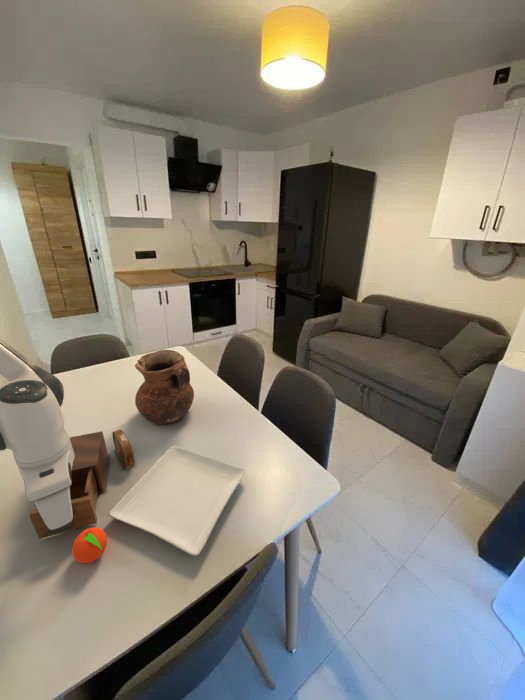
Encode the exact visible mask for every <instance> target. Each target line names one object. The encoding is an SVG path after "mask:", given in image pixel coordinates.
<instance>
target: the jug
mask: <svg viewBox="0 0 525 700" xmlns="http://www.w3.org/2000/svg"><path fill="white" fill-rule="evenodd" d="M134 368H135V369H136V370H137V371H138V372H139V373H140V374H141V375H142V376H143V379H144V381H143V382H142V384H141V385H140V386H139V388H138V389H137V391H136V394H135V399H134V403H135V404H134V405H135V407H136V409H137V411H138V413H139V414H140V415H141V416H142V418H144V419H145V420H146V421H148V422H150V423H153V424H159V425H166V424H172V423H175V422H177V421H179V420H181V418H182V417H183V416H185V415H186V414H187V412H188V411H189V410H190V409H191V407H192V405H193V402H194V399H195V391H194V388H193V386H192V384H191V376H190V375H191V373H190V370H189V368H188V365H187V363H186V360H185V356H184V355H182V354H181V353H179V352H178V351H176V350H173V349H160V350H157V351H155V352H154V351H153V352H149V353H146V354H143V355H142V356H141V357H140V358H139V359H137V362H136V364H135V365H134Z"/></svg>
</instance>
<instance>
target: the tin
mask: <svg viewBox="0 0 525 700" xmlns="http://www.w3.org/2000/svg"><path fill="white" fill-rule="evenodd" d="M111 435H112V441H113V446H114V450H115V452H116V454H117V456H118V458H119V460H120V462H121V463H122V466H123V467H124V468H125V469H128V468H131V467H132V466H135V464H136V463H135V453H134V450H133V447H132V444H131V442H130V440H129V438H128V437H127V435H126V434H125V432H124V431H123V430H122V429H117V430H114V431H113V430H112V434H111Z"/></svg>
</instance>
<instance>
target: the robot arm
mask: <svg viewBox="0 0 525 700" xmlns="http://www.w3.org/2000/svg"><path fill="white" fill-rule="evenodd" d="M0 375H1V376H2V377H3V378H4V379H6V380H7V381H8V382H7V383H5V384H3V385H1V386H0V451H5V450H10V451H11V452H13V453H12V455H13V459H14V461H15V464H16V466H17V469H18V471H19V474H20V476H21V479H22V480H23V484H24V489H25V494H26V497H27V500H28V501H29V502H34V504H35V507H36V509H38V511H39V513H40V515H41V517H42V519H43V520H44V522H45V524H46V525H47V527H48V528H49V529H51V530H54V529H57V528H59V527H62V526H64V525H66V524H68V523H69V522H71V521H72V519H73V511H72V504H71V497H70V485H71V484H72V481H71V480H72V475H71V473H72V465H73V461H74V458H75V454H74V450H73V447H72V444H71V441H70V437H71V436H70V435H69V433H68V432H67V431H66V430H65V429H66V428H65V417H64V415H63V412H62V409H61V408H62V406H63V403H64V399H65V388H64V384H63V383H62V382H61V379H59V378H58V377H57V376H55V375H54V374H53V373H51V372H49V371H47V370H46V369H43V368H42V367H40V366H38V365H37V364H35V363H33V362H32V361H31V360H29V358H27V357H26V356H24V355H23V354H22V353H20V352H19V351H18V350H16V349H15V348H14V347H12V345H10V344H9V343H7V342H6V341H5V340H3V339H2V338H1V337H0Z"/></svg>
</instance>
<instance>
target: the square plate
mask: <svg viewBox="0 0 525 700" xmlns="http://www.w3.org/2000/svg"><path fill="white" fill-rule="evenodd" d="M245 473H246V470H245V469H244V468H241V467H239V466H236V465H233V464H231V463H227V462H225V461H221V460H218V459H216V458H212V457H210V456H207V455H205V454H204V455H203V454H201V453H198V452H195V451H192V450H189V449H187V448H185V447H184V448H183V447H181V446H177V445H172V446H170V447H169V448H168V449H167V450H166V451H165V452H164V453H163V454H162V455H161V457H160V458H158V460H157V461H155V463H154V464H152V466H150V468H149V469H148V470H147V471H146V472H145V473H144V474H143V475H142V476H141V477H140V478H139V479H138V481H136V483H135V484H134V485H132V487H130V488H129V490H127V492H126V493H125V494H123V496H122V497H121V498H120V499H119V500H118V501H117V502H116V504H115V505H113V506H112V508H111V509H109V511H108V513H107V515H108V516H109V517H110V518H112V519H115V520H116V521H120V522H121V523H125V524H126V525H129V526H132V527H135V528H136V529H139V530H142V531H144V532H146V533H148V534H151V535H153V536H155V537H156V538H158V539H160V540H162V541H164V542H166V543H168V544H170V545H171V546H173V547H174V548H177V549H178V550H180V551H182V552H184V553H186V554H188V555H189V556H192V557H196V556H199V555H200V553H201V552H202V551H203V549H204V548H205V546H206V544H207V541H208V540H209V537H210V536H211V533H212V531H213V530H214V528H215V526H216V523H217V522H218V520H219V518H220V516H221V515H222V512H223V510H224V509H225V507H226V505H227V504H228V502H229V501H230V499H231V497H232V495H233V493H234V492H235V490H236V489H237V487H238V486H239V484H240V483H241V481H242V479H243V477H244V476H245Z"/></svg>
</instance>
